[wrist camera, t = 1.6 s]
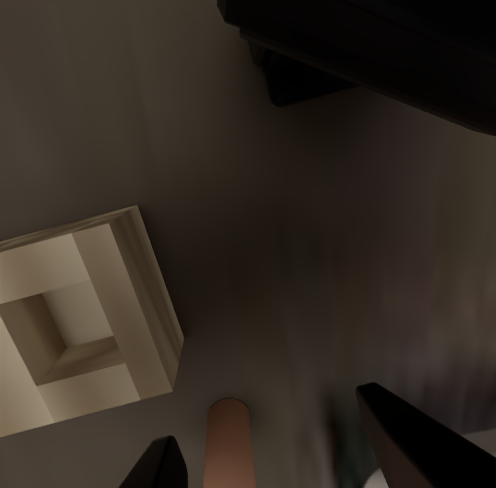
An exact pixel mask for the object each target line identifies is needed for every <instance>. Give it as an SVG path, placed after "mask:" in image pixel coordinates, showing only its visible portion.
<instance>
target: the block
mask: <svg viewBox="0 0 496 488" xmlns="http://www.w3.org/2000/svg"><path fill="white" fill-rule="evenodd" d="M183 342H184V336H183V334H182V331H181V328H180V325H179V322H178V319H177V316H176V314H175V311H174V308H173V305H172V302H171V299H170V297H169V294H168V291H167V288H166V285H165V282H164V279H163V277H162V274H161V271H160V268H159V265H158V262H157V260H156V257H155V254H154V251H153V248H152V245H151V242H150V240H149V237H148V234H147V231H146V228H145V225H144V222H143V220H142V217H141V214H140V211H139V208H138V205H135V206H131V207H127V208H124V209H120V210H116V211H112V212H109V213H105V214H101V215H97V216H94V217H90V218H86V219H82V220H79V221H75V222H71V223H67V224H64V225H60V226H56V227H52V228H49V229H45V230H41V231H37V232H34V233H30V234H26V235H22V236H19V237H15V238H11V239H7V240H4V241H0V437H3V436H6V435H10V434H14V433H18V432H22V431H25V430H29V429H33V428H37V427H41V426H44V425H48V424H52V423H56V422H60V421H63V420H67V419H71V418H75V417H79V416H82V415H86V414H90V413H94V412H97V411H101V410H105V409H109V408H113V407H116V406H120V405H124V404H128V403H132V402H135V401H139V400H143V399H147V398H151V397H154V396H158V395H162V394H166V393H170V392H173V389H174V384H175V379H176V375H177V370H178V365H179V361H180V356H181V351H182V346H183Z"/></svg>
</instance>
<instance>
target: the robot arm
mask: <svg viewBox="0 0 496 488" xmlns="http://www.w3.org/2000/svg"><path fill="white" fill-rule="evenodd" d="M217 6H218V8H219V10H220V12H221V15H222V17H223V19H224V21H225V22H226V23H228V24H231V25H233V26H236V27H238V28H240V38H243V39H245V40H248V42H249V47H250V51H251V55H252V60H253V63H255V64H256V65H257V66H263V70H264V75H265V79H266V84H267V88H268V93H269V97H270V100H271V102H272V103H273V104H274V105H275V106H277V107H283V106H286V105H290V104H294V103H298V102H301V101H305V100H309V99H312V98H316V97H320V96H324V95H327V94H331V93H335V92H339V91H342V90H346V89H350V88H353V87H357V86H363V87H365V88H368V89H370V90H373V91H375V92H378V93H380V94H383V95H385V96H388V97H390V98H393V99H395V100H398V101H400V102H403V103H405V104H408V105H410V106H413V107H415V108H418V109H420V110H423V111H425V112H428V113H430V114H433V115H435V116H438V117H440V118H443V119H445V120H448V121H450V122H453V123H455V124H458V125H460V126H463V127H465V128H468V129H470V130H473V131H476V132H480V133H484V134H489V135H493V136H496V0H217ZM278 90H282V91H284V93H285V98H284V100H278V99H277V97H276V92H277V91H278ZM356 396H357V401H358V406H359V411H360V416H361V420H362V424H363V427H364V429H365V432H366V434H367V437H368V439H369V441H370V444H371V446H372V449H373V451H374V453H375V456H376V458H377V461H378V463H379V465H380V468H381V470H382V472H383V475H384V477H385V479H386V482H387V484H388V487H389V488H496V457H494V456H493V455H491V454H489V453H488V452H486V451H485V450H483V449H481V448H480V447H478V446H477V445H475V444H473V443H472V442H470V441H469V440H467V439H465V438H464V437H462V436H461V435H459V434H457V433H456V432H454V431H453V430H451V429H449V428H448V427H446V426H445V425H443V424H441V423H440V422H438V421H437V420H435V419H433V418H432V417H430V416H429V415H427V414H425V413H424V412H422V411H421V410H419V409H417V408H416V407H414V406H413V405H411V404H409V403H408V402H406V401H405V400H403V399H402V398H400V397H398V396H397V395H395V394H394V393H392V392H390V391H389V390H387V389H386V388H384V387H382V386H381V385H379V384H377V383H375V382H371V383H367V384H364V385H360V386H357V388H356ZM118 488H188V473H187V467H186V464H185V461H184V458H183V456H182V453H181V451H180V448H179V446H178V443H177V441H176V439H175V438H174V436H171V435H169V436H166V437H162V438H158V439H155V440H154V441H152V443H151V444H150V445H149V446H148V448H147V449H146V451H145V452H144V453H143V455H142V456H141V457H140V459H139V460H138V461H137V463H136V464H135V466H134V467H133V468H132V470H131V471H130V472H129V474H128V475H127V477H126V478H125V479H124V481H123V482H122V483H121V485H120V486H119V487H118Z"/></svg>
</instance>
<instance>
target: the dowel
mask: <svg viewBox="0 0 496 488" xmlns="http://www.w3.org/2000/svg"><path fill="white" fill-rule="evenodd" d="M203 488H256V481H255V470H254V460H253V449H252V438H251V427H250V416H249V410H248V408H247V407H246V405H245V404H243V403H242V402H240V401H238V400H235V399H224V400H220V401H218V402H216V403H215V404H214V405H213V406H212V407H211V408H210V410H209V412H208V418H207V434H206V449H205V465H204V481H203Z"/></svg>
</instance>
